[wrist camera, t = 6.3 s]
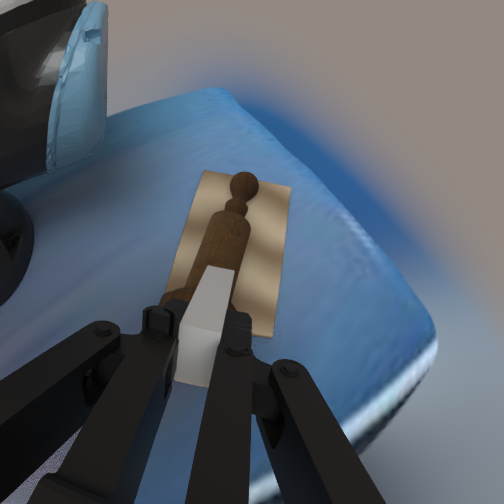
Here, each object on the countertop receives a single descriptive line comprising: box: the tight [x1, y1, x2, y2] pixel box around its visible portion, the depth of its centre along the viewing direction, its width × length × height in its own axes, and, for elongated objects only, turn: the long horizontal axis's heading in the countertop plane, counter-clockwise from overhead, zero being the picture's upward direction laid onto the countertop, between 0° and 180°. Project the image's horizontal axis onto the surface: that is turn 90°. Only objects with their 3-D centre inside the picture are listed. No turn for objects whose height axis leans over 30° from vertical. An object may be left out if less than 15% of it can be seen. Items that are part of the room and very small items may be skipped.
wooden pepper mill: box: [159, 172, 259, 311], centre depth 27 cm, size 7×6×18 cm
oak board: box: [165, 170, 291, 339], centre depth 30 cm, size 17×10×1 cm, turn 171°
